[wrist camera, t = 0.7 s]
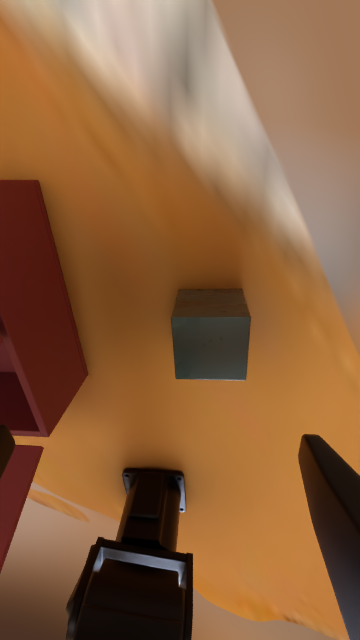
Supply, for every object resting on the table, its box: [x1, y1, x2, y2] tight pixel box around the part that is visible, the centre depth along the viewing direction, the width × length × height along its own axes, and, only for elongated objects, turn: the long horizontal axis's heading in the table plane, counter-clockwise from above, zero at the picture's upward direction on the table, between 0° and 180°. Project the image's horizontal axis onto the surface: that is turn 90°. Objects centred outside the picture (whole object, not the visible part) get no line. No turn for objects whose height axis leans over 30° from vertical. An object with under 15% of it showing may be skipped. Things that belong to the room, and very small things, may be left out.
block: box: [171, 289, 251, 380], centre depth 18 cm, size 4×4×4 cm
